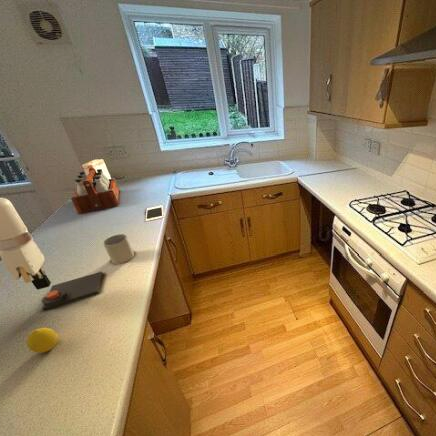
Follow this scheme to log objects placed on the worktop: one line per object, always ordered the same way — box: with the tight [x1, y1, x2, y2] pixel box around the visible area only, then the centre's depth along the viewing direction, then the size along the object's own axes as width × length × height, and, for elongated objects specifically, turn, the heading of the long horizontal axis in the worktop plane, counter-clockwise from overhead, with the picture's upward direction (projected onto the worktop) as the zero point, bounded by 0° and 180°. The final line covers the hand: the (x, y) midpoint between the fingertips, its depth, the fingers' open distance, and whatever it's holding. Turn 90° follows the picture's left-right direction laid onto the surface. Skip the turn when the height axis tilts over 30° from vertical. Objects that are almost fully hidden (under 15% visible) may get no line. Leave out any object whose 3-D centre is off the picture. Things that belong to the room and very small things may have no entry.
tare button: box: [45, 290, 60, 300], centre depth 81 cm, size 3×3×2 cm
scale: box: [40, 271, 104, 312], centre depth 86 cm, size 15×12×4 cm
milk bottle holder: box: [70, 168, 120, 214], centre depth 155 cm, size 21×35×19 cm, turn 32°
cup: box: [102, 233, 135, 265], centre depth 101 cm, size 8×8×10 cm
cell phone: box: [145, 205, 164, 222], centre depth 141 cm, size 9×18×1 cm, turn 26°
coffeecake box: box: [81, 158, 112, 182], centre depth 182 cm, size 15×7×20 cm, turn 6°
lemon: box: [26, 327, 58, 354], centre depth 66 cm, size 6×6×8 cm
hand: (44, 286), depth 78 cm, fingers closed
